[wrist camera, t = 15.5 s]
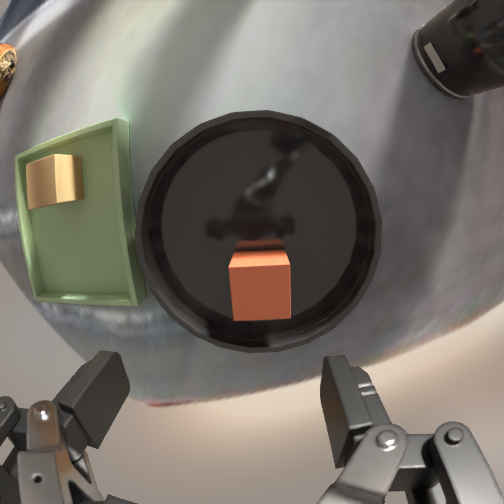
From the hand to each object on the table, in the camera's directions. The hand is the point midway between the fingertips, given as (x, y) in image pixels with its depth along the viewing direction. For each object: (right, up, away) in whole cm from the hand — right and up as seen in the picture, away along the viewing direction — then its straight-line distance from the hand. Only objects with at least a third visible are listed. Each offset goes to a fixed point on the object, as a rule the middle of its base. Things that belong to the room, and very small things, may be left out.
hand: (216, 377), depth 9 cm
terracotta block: (+2, +3, +15) cm, 15 cm away
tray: (-17, +8, +15) cm, 24 cm away
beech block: (-18, +12, +13) cm, 25 cm away
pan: (+2, +6, +15) cm, 16 cm away
